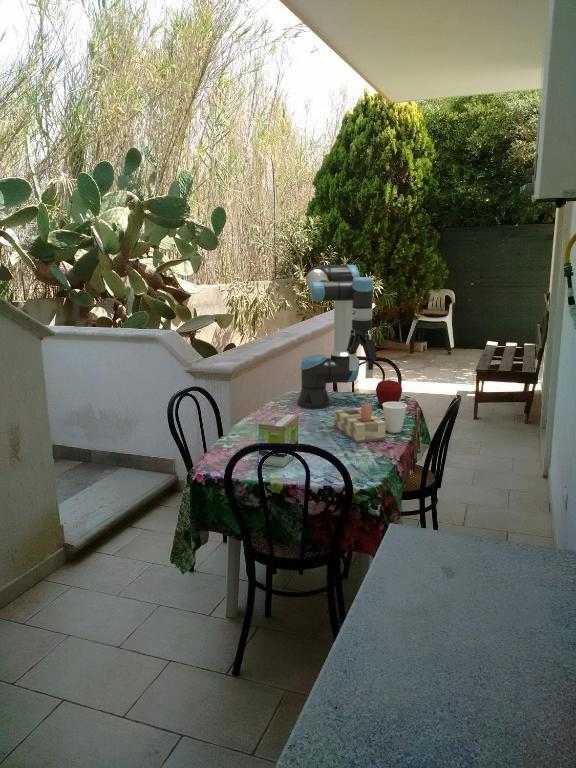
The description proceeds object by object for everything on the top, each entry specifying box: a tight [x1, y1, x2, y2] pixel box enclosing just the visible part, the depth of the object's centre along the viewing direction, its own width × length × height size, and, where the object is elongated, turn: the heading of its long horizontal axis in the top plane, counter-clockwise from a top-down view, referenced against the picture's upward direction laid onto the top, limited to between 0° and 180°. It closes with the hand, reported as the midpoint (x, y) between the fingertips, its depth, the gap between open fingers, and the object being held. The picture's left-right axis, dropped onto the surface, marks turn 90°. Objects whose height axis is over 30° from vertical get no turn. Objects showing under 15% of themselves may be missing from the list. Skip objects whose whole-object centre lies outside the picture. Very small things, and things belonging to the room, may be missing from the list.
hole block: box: [333, 407, 386, 444], centre depth 234 cm, size 22×12×7 cm, turn 19°
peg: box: [360, 403, 373, 423], centre depth 228 cm, size 4×4×12 cm
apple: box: [375, 379, 403, 406], centre depth 271 cm, size 12×12×13 cm
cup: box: [381, 401, 408, 434], centre depth 236 cm, size 10×10×11 cm
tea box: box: [258, 412, 299, 468], centre depth 206 cm, size 15×10×15 cm
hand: (360, 374), depth 226 cm, fingers open, 13 cm apart
